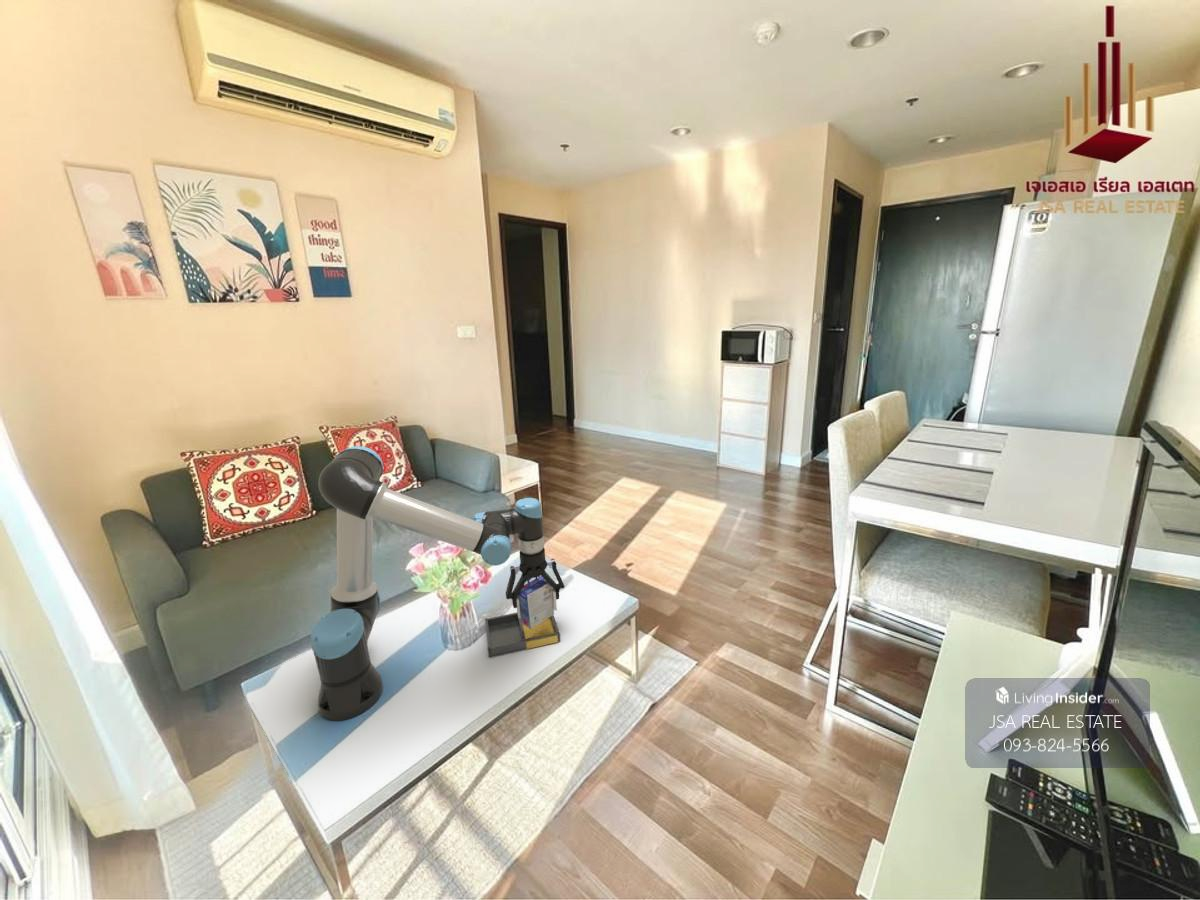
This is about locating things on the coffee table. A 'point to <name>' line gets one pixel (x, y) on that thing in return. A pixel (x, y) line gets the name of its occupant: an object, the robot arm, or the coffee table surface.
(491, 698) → the coffee table surface
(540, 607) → the ink cartridge box
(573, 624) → the coffee table surface
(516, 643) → the tray
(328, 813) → the coffee table surface
